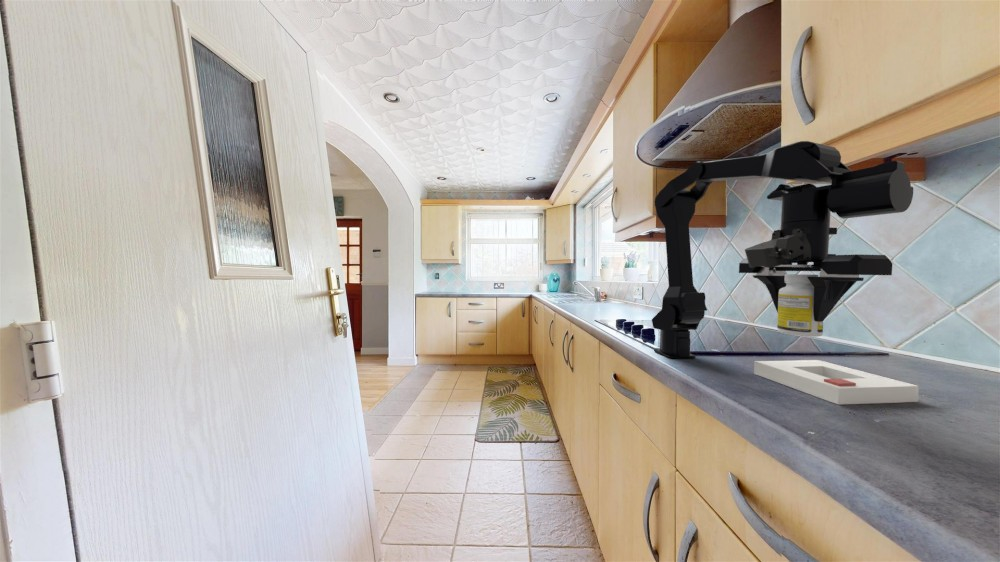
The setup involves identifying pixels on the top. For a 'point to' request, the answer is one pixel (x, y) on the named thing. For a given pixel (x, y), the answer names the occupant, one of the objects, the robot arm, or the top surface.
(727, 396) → the top surface
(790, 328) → the supplement bottle
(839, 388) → the socket plate
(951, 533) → the top surface
